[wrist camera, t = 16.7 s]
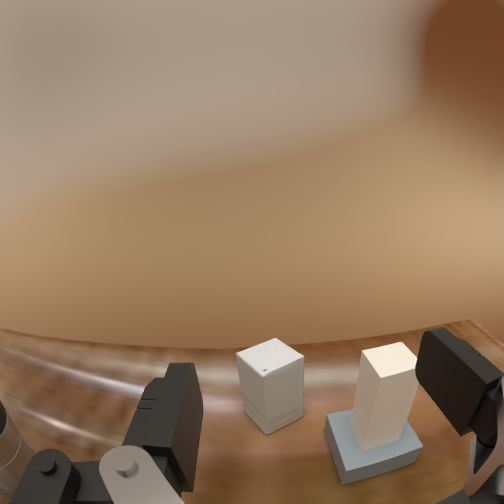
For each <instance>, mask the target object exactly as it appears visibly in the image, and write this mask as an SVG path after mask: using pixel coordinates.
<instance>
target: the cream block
mask: <svg viewBox="0 0 504 504" xmlns="http://www.w3.org/2000/svg"><path fill="white" fill-rule="evenodd" d="M416 362H417V358H416V357H415V355H414V354H413V353H412V352H411V351H410V350H409V349H408V348H407V347H406V346H405V345H404V344H403V343H402V342H399V343H395V344H390V345H386V346H382V347H377V348H372V349H367V350H363V351H362V355H361V362H360V369H359V376H358V382H357V388H356V394H355V400H354V405H353V410H352V415H351V420H350V425H351V428H352V430H353V432H354V434H355V437H356V439H357V441H358V444H359V446H360V448H361V451H363V450H367V449H370V448H374V447H377V446H380V445H384V444H387V443H390V442H393V441H396V440H399V438H400V435H401V433H402V430H403V428H404V425H405V423H406V420H407V417H408V414H409V412H410V409H411V406H412V403H413V400H414V397H415V394H416V391H417V388H418V384H419V382H418V380H417V378H416V374H415V366H416Z"/></svg>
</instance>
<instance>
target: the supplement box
mask: <svg viewBox="0 0 504 504" xmlns="http://www.w3.org/2000/svg"><path fill="white" fill-rule="evenodd" d="M236 356H237V365H238V372H239V379H240V386H241V393H242V400H243V407H244V412H245V413H246V414H247V415H248V416H249V417H250V418H251V419H252V421H253V422H254V423H255V424H256V425H257V426H258V427H259V428H260V429H261V430H262V431H263V432H264V433H265V434H266V435H268V434H270V433H272V432H274V431H276V430H278V429H280V428H282V427H284V426H286V425H288V424H290V423H291V422H293V421H295V420H297V419H299V418H300V417H302V416H303V396H304V356H303V355H301V354H300V353H298V352H296V351H295V350H293V349H292V348H290V347H289V346H287V345H286V344H284V343H282V342H281V341H279V340H278V339H277V338H274V339H271V340H269V341H267V342H264V343H261V344H259V345H256V346H254V347H251V348H248V349H246V350H243V351H240V352H238V353H236Z"/></svg>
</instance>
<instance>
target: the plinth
mask: <svg viewBox="0 0 504 504" xmlns="http://www.w3.org/2000/svg"><path fill="white" fill-rule="evenodd" d="M352 410H353V409H351V410H346V411H341V412H336V413H331V414H327V416H326V424H325V434H326V437H327V440H328V443H329V446H330V449H331V453H332V456H333V459H334V462H335V465H336V469H337V472H338V475H339V478H340V481H341V485H343V484H348V483H352V482H356V481H359V480H363V479H366V478H370V477H373V476H377V475H380V474H383V473H386V472H389V471H392V470H395V469H398V468H400V467H403V466H406V465H408V464H411V463H414V462H415V461H416V459H417V457H418V455H419V453H420V451H421V450H422V448H423V445H422V443H421V442H420V440H419V439H418V437H417V435H416V434H415V432H414V430H413V429H412V427H411V426H410V424H409V422H408V421H407V420H406V423H405V425H404V428H403V430H402V433H401V435H400V438H399V440H396V441H393V442H390V443H387V444H384V445H380V446H377V447H374V448H370V449H367V450H363V451H361V448H360V446H359V444H358V441H357V439H356V437H355V434H354V432H353V430H352V428H351V425H350V420H351V415H352Z"/></svg>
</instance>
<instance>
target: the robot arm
mask: <svg viewBox="0 0 504 504" xmlns="http://www.w3.org/2000/svg"><path fill="white" fill-rule="evenodd" d="M415 374H416V378H417V380H418V382H419V383H420V384H421V386H422V387H423V388H424V389H425V391H426V392H427V393H428V394H429V396H430V397H431V398H432V400H433V401H434V402H435V403H436V405H437V406H438V407H439V409H440V410H441V411H442V412H443V414H444V415H445V416H446V418H447V419H448V420H449V422H450V423H451V424H452V426H453V427H454V428H455V430H456V431H457V432H458V434H459V435H460V436H463V435H465V434H467V433H469V432H471V431H474V433H475V434H474V435H473V437H472V440H471V449H470V458H469V466H468V473H467V479H466V482H465V485H464V487H463V489H462V490H461V491H459V492H457V493H455V494H453V495H452V496H450V497H448V498H446V499H444V500H442V501H440V502H438V503H436V504H504V373H503V372H501V371H500V370H499V369H498V368H497V367H496V366H495V365H493V364H492V363H491V362H490V361H489V360H488V359H486V358H485V357H484V356H483V355H482V356H481V353H479V352H478V351H477V350H474V348H473V347H472V346H471V345H470V344H469V343H467V342H466V341H464V340H462V339H460V338H457V337H456V336H454V335H453V334H452V333H451V332H450V331H448V330H447V329H446V328H444V327H440V328H436V329H432V330H429V331H426V332H424V334H423V336H422V340H421V344H420V349H419V353H418V357H417V362H416V366H415ZM202 418H203V400H202V395H201V391H200V387H199V382H198V378H197V374H196V369H195V366H194V363H170V364H169V366H168V369H167V371H166V374H165V377H164V378H154V379H153V380H152V381H151V382H150V383H149V384H148V385H147V386H146V387H145V389H144V392H143V394H142V397H141V401H139V404H138V406H137V410H136V411H135V414H134V416H133V419H132V421H131V424H130V426H129V429H128V431H127V434H126V436H125V439H124V442H123V444H122V446H119V447H116V448H113V449H111V450H110V451H108V452H107V453H106V454H105V455H104V456H103V457H102V459H101V460H100V461H90V462H71V461H70V459H69V458H68V457H67V456H66V455H65V454H64V453H63V452H61V451H59V450H55V449H46V450H42V451H40V452H38V453H35V451H34V450H33V449H32V448H31V446H30V445H29V444H28V442H27V441H26V439H25V438H24V437H23V435H22V434H21V432H20V431H19V430H18V428H17V427H16V425H15V424H14V422H13V421H12V419H11V418H10V416H9V415H8V413H7V411H6V410H5V408H4V406H3V405H2V403H1V401H0V493H1V494H2V495H3V496H4V497H5V498H6V499H7V500H8V501H9V502H10V503H9V504H185V503H184V502H183V501H182V500H181V493H182V492H193V487H194V479H195V471H196V463H197V455H198V448H199V440H200V433H201V425H202Z"/></svg>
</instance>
